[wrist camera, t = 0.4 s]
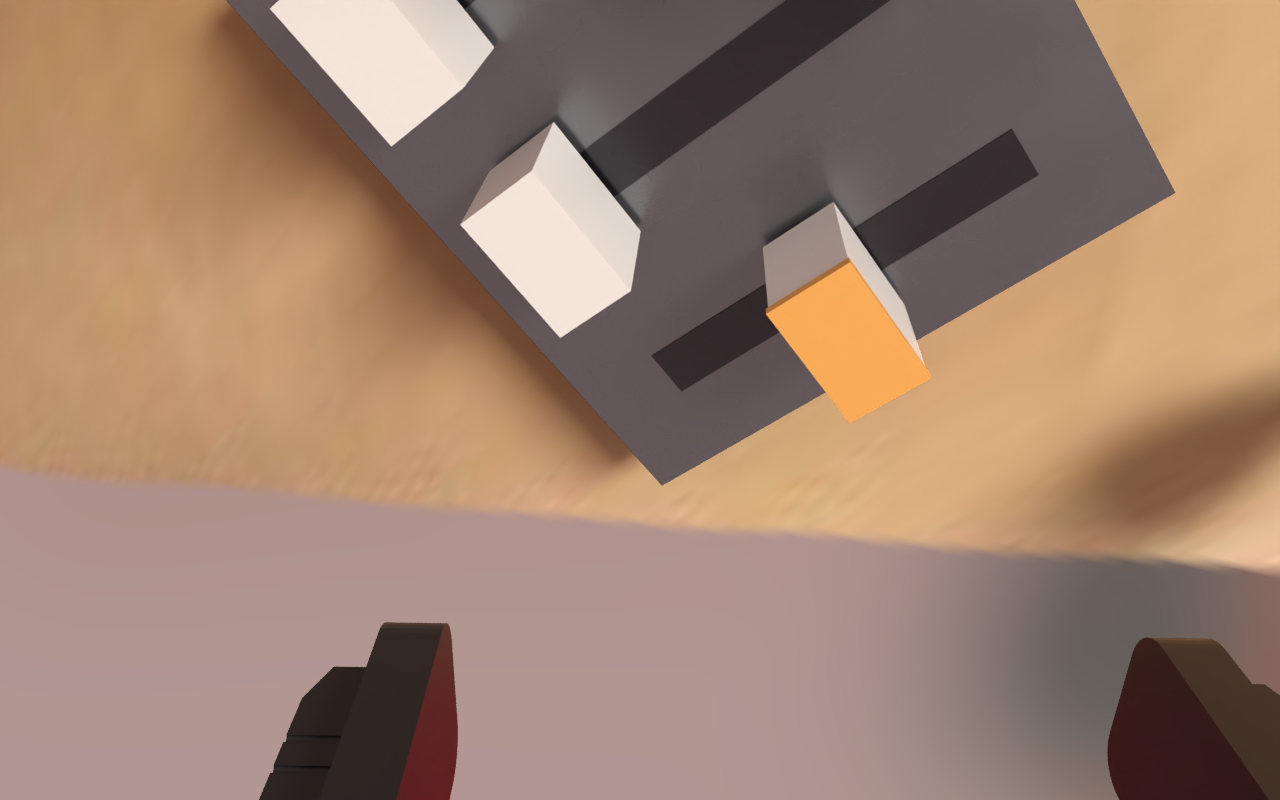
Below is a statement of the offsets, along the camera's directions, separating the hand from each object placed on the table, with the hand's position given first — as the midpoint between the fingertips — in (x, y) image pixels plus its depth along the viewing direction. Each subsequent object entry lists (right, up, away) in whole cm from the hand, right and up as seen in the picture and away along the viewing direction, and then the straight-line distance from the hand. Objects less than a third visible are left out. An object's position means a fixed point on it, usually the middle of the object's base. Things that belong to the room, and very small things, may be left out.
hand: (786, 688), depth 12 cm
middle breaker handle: (-4, +9, +18) cm, 20 cm away
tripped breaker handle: (+4, +7, +19) cm, 20 cm away
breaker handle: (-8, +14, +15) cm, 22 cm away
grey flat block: (0, +13, +19) cm, 23 cm away
